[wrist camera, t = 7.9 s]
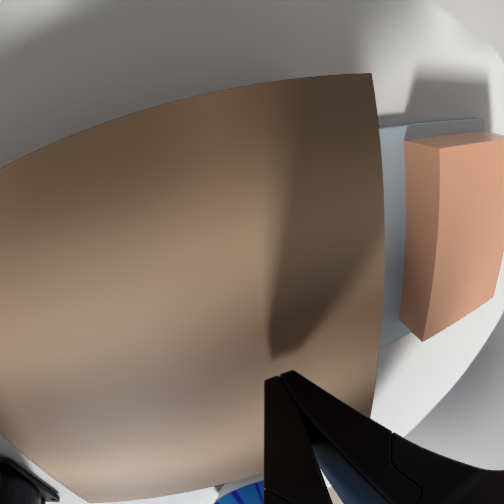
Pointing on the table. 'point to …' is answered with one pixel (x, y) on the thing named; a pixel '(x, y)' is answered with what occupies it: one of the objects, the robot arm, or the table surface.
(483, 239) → the peach rectangular block
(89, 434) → the brown box
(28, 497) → the robot arm
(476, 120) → the mat
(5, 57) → the table surface
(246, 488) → the beer can
